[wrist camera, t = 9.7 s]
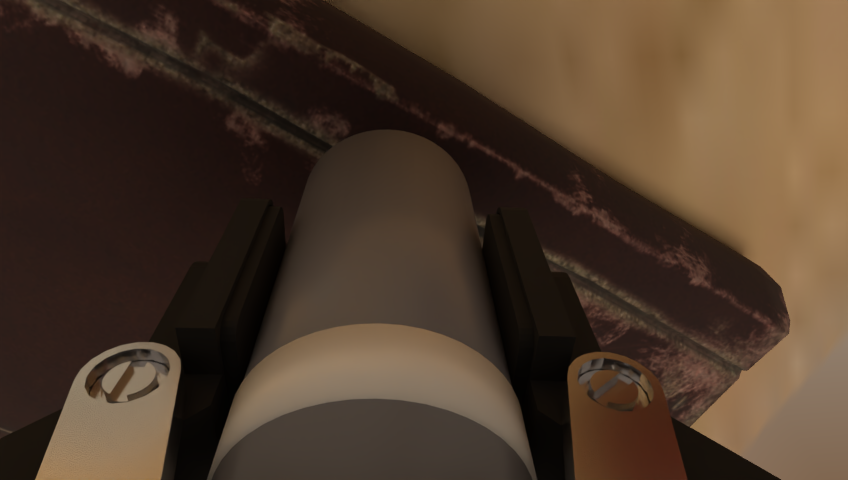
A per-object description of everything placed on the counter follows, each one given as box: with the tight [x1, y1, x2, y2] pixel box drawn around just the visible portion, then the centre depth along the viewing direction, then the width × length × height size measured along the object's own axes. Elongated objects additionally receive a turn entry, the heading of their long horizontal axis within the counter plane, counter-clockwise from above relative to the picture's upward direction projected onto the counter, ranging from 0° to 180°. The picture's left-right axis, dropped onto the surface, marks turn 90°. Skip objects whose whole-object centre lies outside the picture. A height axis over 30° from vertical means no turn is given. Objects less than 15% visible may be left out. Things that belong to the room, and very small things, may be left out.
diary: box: [0, 0, 790, 438], centre depth 21 cm, size 19×25×5 cm
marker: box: [207, 130, 537, 480], centre depth 9 cm, size 4×4×12 cm
